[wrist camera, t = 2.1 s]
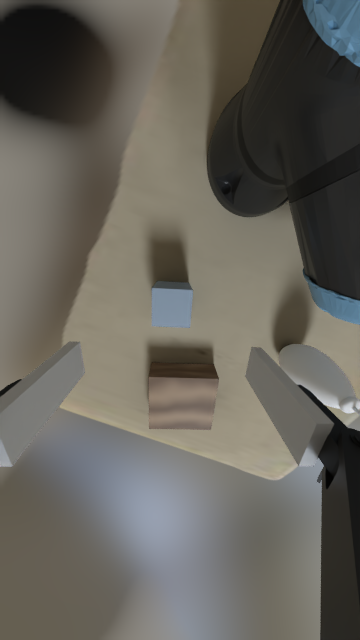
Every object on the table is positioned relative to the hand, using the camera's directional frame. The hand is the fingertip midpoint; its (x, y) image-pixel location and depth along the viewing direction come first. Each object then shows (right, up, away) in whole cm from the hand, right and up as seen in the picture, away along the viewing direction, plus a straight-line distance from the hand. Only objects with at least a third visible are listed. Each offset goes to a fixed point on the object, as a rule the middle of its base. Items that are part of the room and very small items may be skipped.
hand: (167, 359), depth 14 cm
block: (0, +8, +20) cm, 22 cm away
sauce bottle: (+25, -4, +25) cm, 36 cm away
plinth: (+1, -13, +28) cm, 31 cm away
